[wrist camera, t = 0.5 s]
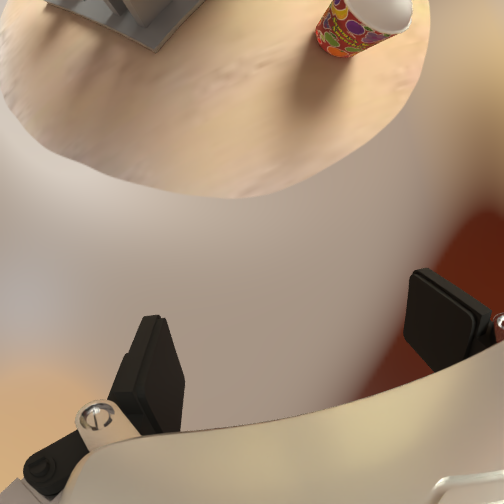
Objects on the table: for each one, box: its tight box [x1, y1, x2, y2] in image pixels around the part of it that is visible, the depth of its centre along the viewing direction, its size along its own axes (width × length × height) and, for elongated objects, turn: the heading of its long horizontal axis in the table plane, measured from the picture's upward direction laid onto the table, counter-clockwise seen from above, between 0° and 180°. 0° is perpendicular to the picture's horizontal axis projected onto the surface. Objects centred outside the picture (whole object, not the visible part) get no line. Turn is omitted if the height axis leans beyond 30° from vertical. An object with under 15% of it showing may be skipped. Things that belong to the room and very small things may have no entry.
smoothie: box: [315, 0, 413, 58], centre depth 24 cm, size 8×8×20 cm
